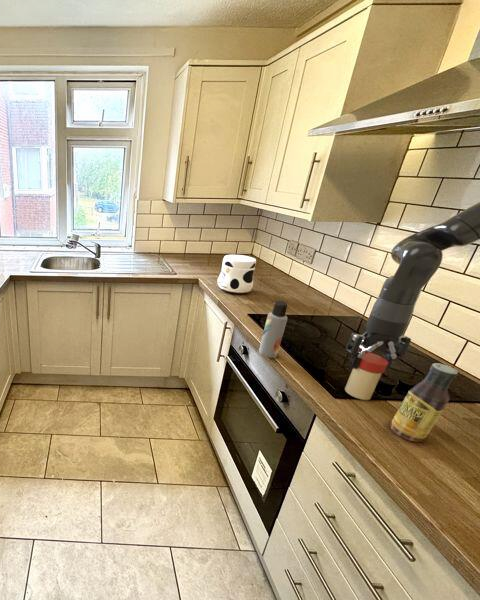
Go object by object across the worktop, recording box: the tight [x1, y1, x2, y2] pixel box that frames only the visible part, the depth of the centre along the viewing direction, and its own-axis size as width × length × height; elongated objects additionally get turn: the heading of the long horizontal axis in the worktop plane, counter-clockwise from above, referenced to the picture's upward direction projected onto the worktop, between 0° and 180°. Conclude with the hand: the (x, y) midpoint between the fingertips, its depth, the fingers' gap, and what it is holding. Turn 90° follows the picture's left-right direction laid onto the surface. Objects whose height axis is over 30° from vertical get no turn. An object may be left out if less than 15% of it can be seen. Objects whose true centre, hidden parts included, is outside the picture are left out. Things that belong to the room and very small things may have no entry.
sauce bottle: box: [389, 362, 459, 443], centre depth 74 cm, size 7×6×20 cm
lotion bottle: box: [258, 300, 289, 359], centre depth 108 cm, size 6×6×20 cm
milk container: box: [217, 254, 257, 295], centre depth 167 cm, size 17×17×18 cm
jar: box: [344, 367, 383, 401], centre depth 90 cm, size 6×6×11 cm
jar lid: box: [358, 351, 388, 374], centre depth 88 cm, size 7×7×3 cm
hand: (367, 367), depth 89 cm, fingers open, 7 cm apart
